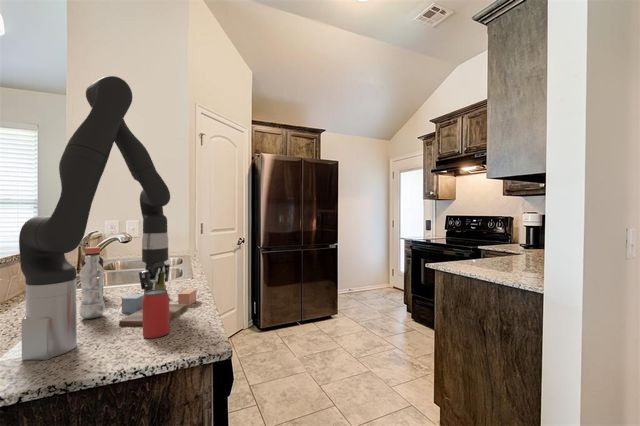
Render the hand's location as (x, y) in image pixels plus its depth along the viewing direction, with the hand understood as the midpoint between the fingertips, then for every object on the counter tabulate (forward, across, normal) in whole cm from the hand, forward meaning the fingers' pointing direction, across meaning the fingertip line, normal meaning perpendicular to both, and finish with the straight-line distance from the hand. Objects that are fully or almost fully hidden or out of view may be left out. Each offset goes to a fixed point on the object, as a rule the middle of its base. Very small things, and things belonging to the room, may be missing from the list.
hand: (155, 298), depth 97 cm
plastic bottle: (+6, -1, +20) cm, 21 cm away
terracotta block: (+6, +14, -4) cm, 16 cm away
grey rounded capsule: (+6, +20, +10) cm, 23 cm away
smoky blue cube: (+6, +6, +11) cm, 14 cm away
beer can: (+6, -14, -8) cm, 17 cm away
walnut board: (+6, 0, 0) cm, 6 cm away
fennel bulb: (+3, 0, 0) cm, 3 cm away
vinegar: (+6, +21, +37) cm, 43 cm away
